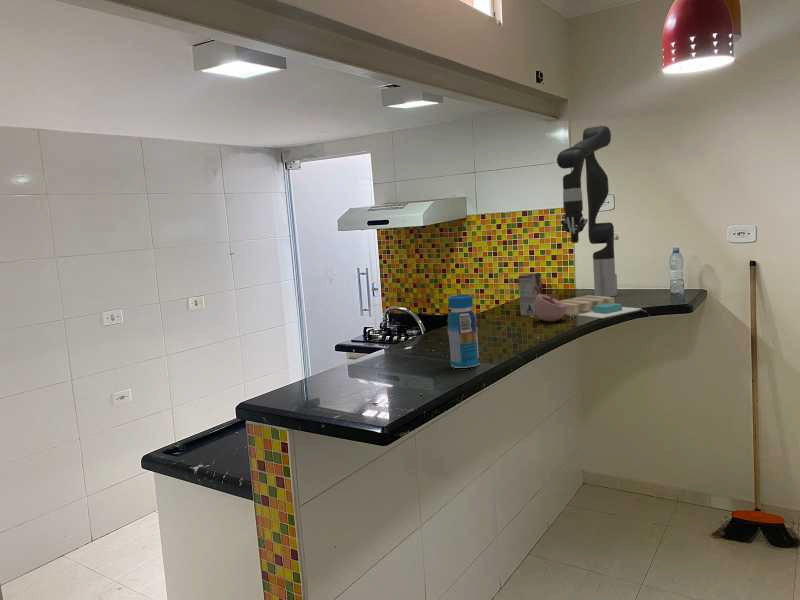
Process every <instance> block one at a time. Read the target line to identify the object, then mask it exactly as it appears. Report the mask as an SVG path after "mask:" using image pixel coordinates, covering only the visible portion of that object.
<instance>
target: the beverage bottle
mask: <svg viewBox="0 0 800 600" xmlns="http://www.w3.org/2000/svg"><path fill="white" fill-rule="evenodd" d="M447 300H448V308H449V309H450V312H449V313H448V317H447V321H446V323H447V324H448V327H447V334H448V340H449V341H448V342H449V344H448V345H449V353H450V367H451V366H452V367H451V368H453V367H454V368H453V369H455V368H467V367H474V366H477V365H479V366H480V363H481V362H480V355H479V341H478V331H479V328H478V326H477V324H476V323H477V316H476V313H475V312H474V310H472V308H473V307H474V306H473V305H474V302H473V301H474V300H473V296H472V294H455V295H451V296H448V299H447ZM477 367H478V366H477Z"/></svg>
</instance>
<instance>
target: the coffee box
mask: <svg viewBox="0 0 800 600" xmlns="http://www.w3.org/2000/svg"><path fill="white" fill-rule="evenodd" d="M517 279H518V291H519V292H518V293H519V305H520V306H519V308H520V309H519V310H520V316H527V317H528V316H529V317H530V316H531V317H533V316H534V317H535V316H537V315H536V313H535V310H534V301H535V298H536V297H537V295H538V294H543V289H542V273H540V272H539V273H525V274H522V275H519V276H518V278H517Z"/></svg>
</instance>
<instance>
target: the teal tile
mask: <svg viewBox="0 0 800 600" xmlns="http://www.w3.org/2000/svg"><path fill="white" fill-rule="evenodd" d="M622 307H623V304H622V303H607V304H602V305H597V306H593V308H594V313H602V314H608V313H612V312H617V311H622Z"/></svg>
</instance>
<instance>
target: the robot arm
mask: <svg viewBox="0 0 800 600" xmlns="http://www.w3.org/2000/svg"><path fill="white" fill-rule="evenodd" d="M611 140H612V133H611V130H610V128H609V127H608V126H607V125H600V126H593V127H587V128H585V129H583V132H582V140H580V141H578V142H577V143H575V144H574V145H573V146H571V147H567V148H565V149H563V150H561V151H559V154H558V155H557V158H556V163H557V166H558V167H559V168H560V169H563V170H566V169H571V168H572V170H571V172H570V173H567V174H565V175H563V177H562V189H563V191H562V201H563V202H562V203H563V212H564V219H563V220H561V221H560V224H561V225H562V227H563V229H564V230H565V232H566V233H569V234H570V241H571V244H577V243H579V241H580V239H579V234H580V233H581V232H583V230H584V228H585V226H586V224H588V226H587V228H588V229H587V232H588V242H589V243H590V244H591V245H596V244H597V245H598V244H606V246H604V247H603V248H601V249H599V250H597V251H594V252H593V253H592V261H593V263H592V264H593V266H592V267H593V282H594V283H593V285H594V286H593V287H594V288H593V289H594V296H603V297H611V296H612V297H615V296H617V295H618V278H617V274H616V265H615V246H614V245H615V244H614V243H615V229H614V227H615V226H614V225H613V223H612V222H611V221H609V222H597V216H598V214H599V211H600V209H601V208H602V206H603V204H604V202H605V201H606V199H607V197H608V195H609V191H610V190H609V189H610V187H609V178H608V175H607V174H606V172H605V170H604V169H603V168H602V166H601V165H600V163H599V162H598V160H597V158H596V155H595V152H596V151H598V150H601V149H602V148H606V147H608V146H609V144H610V143H611ZM584 163H585V172H586V173H585V174H586V175H585V176H586V177H585V178H586V180H585V182H586V195H587V196H586V197H587V207H588V208H587V210H588V214H587V215H588V217H587V218H584V217H583V215H584V214H583V210H584V205H583V204H584V202H583V191H582V172H583V167H584Z"/></svg>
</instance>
